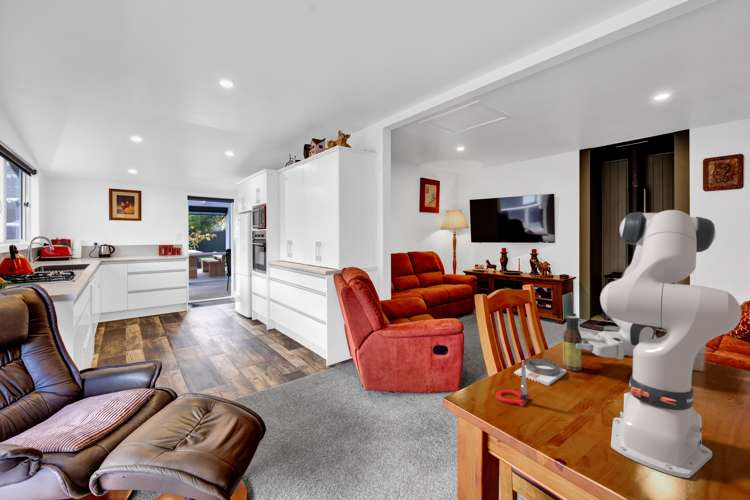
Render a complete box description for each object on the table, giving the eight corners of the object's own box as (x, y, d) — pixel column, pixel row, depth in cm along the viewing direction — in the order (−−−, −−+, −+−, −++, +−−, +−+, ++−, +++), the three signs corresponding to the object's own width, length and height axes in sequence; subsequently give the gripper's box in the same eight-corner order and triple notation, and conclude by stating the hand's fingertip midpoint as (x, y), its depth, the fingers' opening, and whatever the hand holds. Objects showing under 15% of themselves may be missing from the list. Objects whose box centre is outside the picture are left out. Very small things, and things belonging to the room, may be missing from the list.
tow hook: (491, 400, 103) (523, 409, 97) (490, 359, 103) (521, 365, 97) (501, 390, 109) (531, 398, 103) (500, 352, 109) (529, 357, 103)
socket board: (548, 385, 112) (548, 376, 112) (514, 374, 121) (514, 366, 121) (566, 372, 122) (566, 364, 122) (533, 363, 131) (533, 355, 131)
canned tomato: (608, 356, 139) (609, 330, 139) (599, 349, 147) (599, 325, 147) (629, 357, 138) (630, 331, 138) (618, 350, 146) (619, 326, 145)
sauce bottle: (585, 372, 123) (587, 319, 122) (568, 372, 123) (570, 319, 122) (575, 365, 129) (576, 315, 128) (559, 365, 129) (560, 315, 128)
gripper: (592, 327, 135) (557, 326, 136) (626, 343, 115) (585, 342, 116) (591, 342, 135) (556, 341, 136) (626, 361, 115) (584, 360, 116)
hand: (570, 342), depth 126 cm, fingers closed on sauce bottle, 6 cm apart
